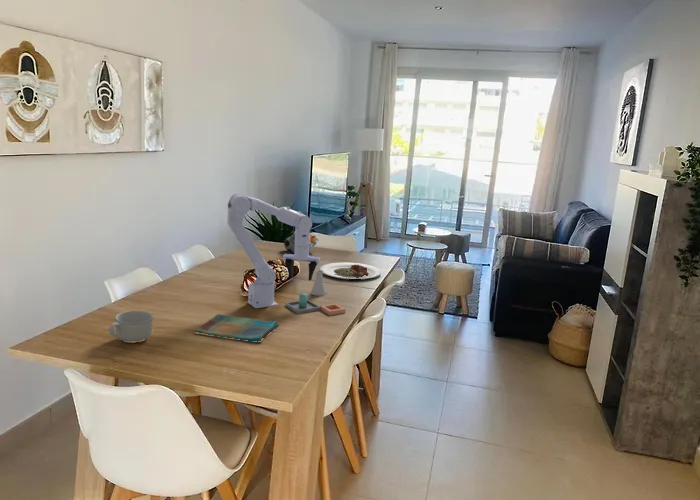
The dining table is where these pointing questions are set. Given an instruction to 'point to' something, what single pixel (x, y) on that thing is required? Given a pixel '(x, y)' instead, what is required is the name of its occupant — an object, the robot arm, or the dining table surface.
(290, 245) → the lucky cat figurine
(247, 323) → the dish towel
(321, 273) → the flask
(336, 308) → the salmon square dish
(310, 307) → the tray
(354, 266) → the plated food
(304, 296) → the pin
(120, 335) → the teacup
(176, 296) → the dining table surface
